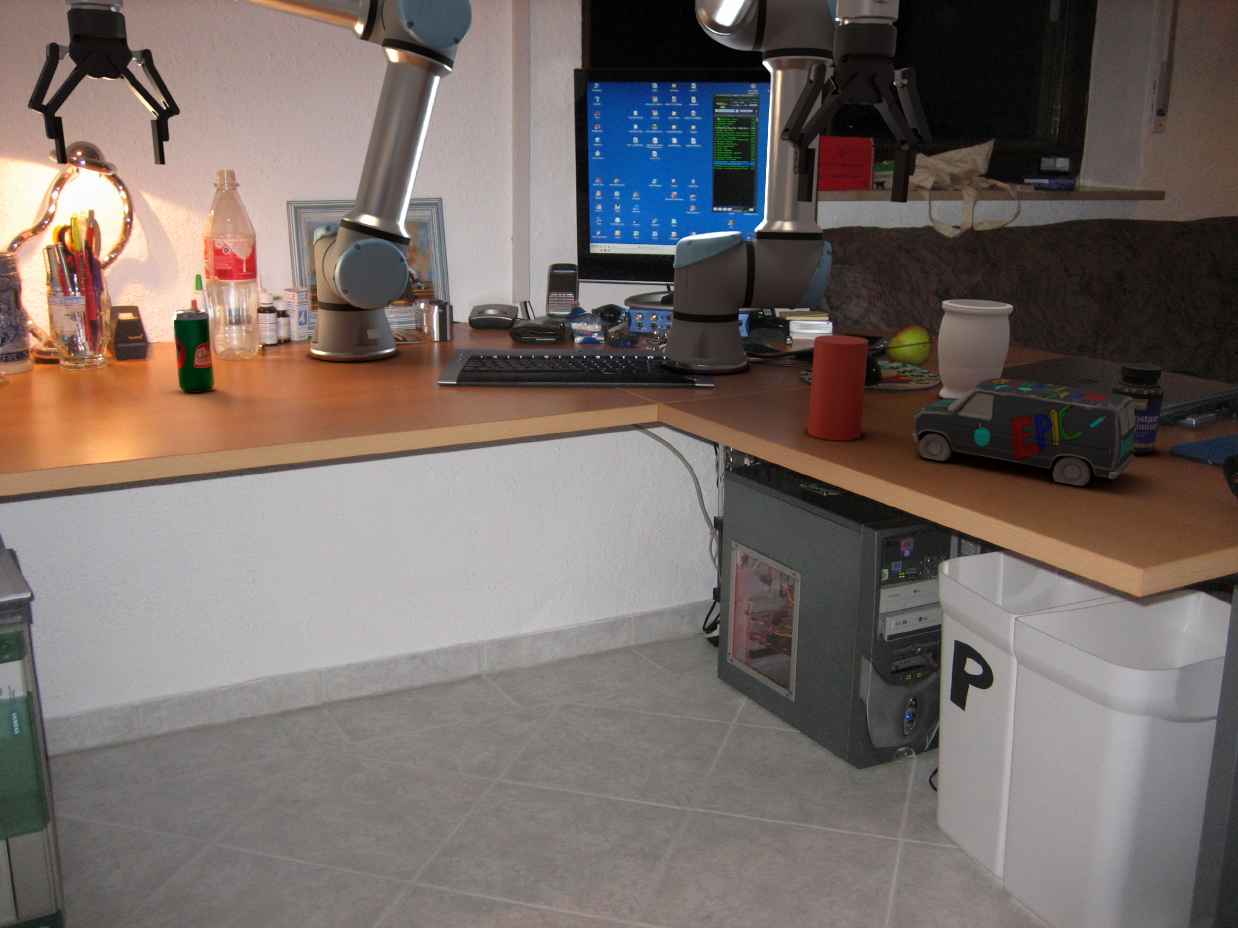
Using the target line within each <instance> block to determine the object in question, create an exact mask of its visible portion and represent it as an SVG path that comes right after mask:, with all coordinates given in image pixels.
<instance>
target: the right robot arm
mask: <svg viewBox="0 0 1238 928" xmlns="http://www.w3.org/2000/svg"><path fill="white" fill-rule="evenodd" d="M899 6H900V0H695V1H694V11H695V17H696V19H697V21H698V24H699V26H700V27H701V28H702V30H703V31H704V32H705V33H706V34H707V35H708V36H709V37H710V38H712V40H714V41H716V42H718V43H720V44H722V45H724V46H726V47H728V48H731V49H735V50H739V51H751V52H762V65H763V66H764V67H765V69H766V70H767V71H768V72H769V73H770V93H769V112H768V136H767V154H766V155H767V157H766V176H765V177H766V178H765V194H764V195H765V197H764V217H763V220H762V222H760V224H759V225H758V226H757V227H756V228H755V229H754V239H753V240H752V239H751V240H748V239H747V240H746V239H745V237H744V234H743V232H741V231H736V230H733V231H718V232H717V231H716V232H706V233H699V234H693V235H689V236H686V237H683V238H681V239H680V240H679V241H678V242H677V244H676V245H675V252H674V263H673V264H672V267H673V269H674V278H673V301H672V321H671V326H670V329H669V332H668V334H667V337H666V338H665V339H664V342H663V343H662V344H663V345H665V346H664V348H663V349H662V350H661V356H662V355H664V356H666V357H668V358H669V359H671V360H674V361H676V362H680V363H686V364H694V365H698V366H703V367H709V368H710V369H690V368H682V367H676V366H671V365H668V364H663V365H664V366H665V367H667V368H669V369H668V370H670V369H671V370H670V371H674V372H680V373H685V374H686V373H687V374H695V375H696V374H697V375H698V374H699V375H702V374H703V375H724V374H733V373H738V372H742V371H744V370H746V369H747V367H748V357H753V358H757V359H761V360H774V359H775V360H776V359H781V358H785V357H786V358H787V357H792V356H793V357H794V356H801V355H802V356H805V355H814V349H803V350H801V349H800V350H792V351H785V352H779V353H772V354H764V353H763V354H762V353H758V352H755V351H748V350H744V342H743V337H742V333H741V328H740V309H778V310H779V309H781V310H782V309H783V310H791V311H794V310H796V309H797V310H799V309H800V310H801V309H811V308H812V309H813V308H815V307H817V306H818V305H819V304H820V302H822V299H823V298H824V296H825V293H826V290H827V287H828V284H829V280H830V276H831V270H832V263H833V257H832V253H833V251H832V250H833V248H832V245H831V243H830V242H829V241H827V240H826V239H825V240H823V233H824V231H823V229H822V228H821V227H820V226H819V225H818V223H817V222H816V220H815V219H816V218H815V217H816V201H817V200H816V199H817V185H818V184H817V183H818V182H817V181H818V163H819V148H820V147H819V145H820V133H821V132H822V131H823V129H824V128H825V127H826V126H827V125H828V124H829V122H830V121H831V119H833V117H834V116H835V115H836V114H837V112H838V111H839V110H840V108H841V107H843V106H844V105H856V104H857V105H858V104H859V105H865V106H867V105H869V106H870V105H873V107H874V108H876V109H877V110H878V112H879V113H880V115H881V117H882V119H883V120H884V121H885V124H886V125H887V127H888V129H889V130H890V131H891V133H892V134H893V136H894V139H896V142H897V143H898V144H899V146H900V147H901V149H895V150H894V160H893V171H892V181H891V183H892V184H891V193H890V202H891V203H901V204H906V203H908V194H909V186H910V185H909V184H910V183H909V182H910V177H911V176H912V177H913V176H914V175H915V173H916V172H915V171H916V162H917V153H918V151H920V150H921V149H922V148H923V147H924V146H929V145H930V144H932V142H933V137H932V134H931V130H930V127H929V125H928V121H927V117H926V115H925V111H924V108H923V105H922V102H921V98H920V95H919V93H918V89H917V85H916V84H917V83H916V82H917V80H916V79H917V78H916V77H917V76H916V69H915V68H914V67H904V68H899V69H895V68H894V65H893V64H894V63H893V61H894V59H895V55H896V48H897V47H896V45H897V34H898V29H897V28H896V26H895V25H893V23H895V22H896V21H898V19H899ZM828 80H830V81H831V83H832V85H833V88H832V90H830V92H829V93H828V95H827V96H826V97H825V98H824V101H823V103H822V95H823V93H822V92H823V88H824V85H825V84H826V83H827V82H828ZM892 83H893V85H895V87H896V89H897V94H898V97H899V100H900V103H901V106H902V109H903V113H904V115H903V113H902V111H901V110H900V108H899V107H898V104H896V98H895V96H894V95H893V93H892V91H891V90H890V86H891V84H892ZM904 116H905V117H904ZM930 340H931V341H932V338H931V337H930ZM875 345H876V344H875ZM876 346H877V345H876ZM868 347H872V346H868ZM667 368H666V369H667Z"/></svg>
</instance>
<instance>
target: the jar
mask: <svg viewBox="0 0 1238 928" xmlns="http://www.w3.org/2000/svg"><path fill="white" fill-rule="evenodd" d="M941 303H942V304H941V308H942V310H944V314H943V316H942V320H941V323H940V327H939V332H938V337H937V358H938V372H939V377H940V381H941V383H942V385H943V387H942V388H941V389H940V391H939V397H940V398H941V399H944V398H960V397H962V396H963V395H965V394H966V393H967V392H968V391H970V390H971V389H972V388H974V387H975V386H976V385H977V384H979V383H980V382H982V381H984V380H988V379H994V378H1002V377H1001V376H1002V373H1003V370H1004V365H1005V363H1006V359H1007V356H1008V352H1009V348H1010V347H1009V346H1010V338H1011V337H1010V335H1011V331H1010V330H1011V327H1010V320H1009V316H1010V315H1011V314H1012V313H1013V312H1014V306H1013V304H1009V303H1005V302H1001V301H995V300H994V301H993V300H986V299H985V300H984V299H967V298H965V299H964V298H963V299H948V300H942V302H941Z"/></svg>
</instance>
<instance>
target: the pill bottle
mask: <svg viewBox="0 0 1238 928" xmlns="http://www.w3.org/2000/svg"><path fill="white" fill-rule="evenodd" d="M1162 371H1163V367H1161V366H1158V365H1155V364H1149V363H1142V362H1141V363H1140V362H1126V363H1122V365H1121V369H1120V375H1121V380H1119V381H1116V382H1115V383H1114V384H1113V385H1112V388H1111V393H1112V394H1118V395H1125V396H1130V397H1131V398H1133V405H1134V415H1135V423H1136V431H1135V436H1134V441H1133V450H1132V451H1131V454H1140V455H1141V454H1148V453H1151V452H1153V451H1154V450H1155V448H1156V440H1157V435H1158V428H1159V424H1160V419H1161V418H1160V417H1161V412H1162V407H1163V399H1164V395H1165V391H1164V389H1163V387H1162V386H1161V385H1159V383H1158V381H1159V380H1160V379H1161V377H1162Z"/></svg>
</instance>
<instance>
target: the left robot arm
mask: <svg viewBox="0 0 1238 928" xmlns="http://www.w3.org/2000/svg"><path fill="white" fill-rule="evenodd" d="M232 1H234V2H237V3H241V4H245V5H249V6H253V7H257V8H261V9H265V10H269V11H272V12H276V13H280V14H284V15H287V16H292V17H296V18H301V19H304V20H308V21H311V22H316V23H319V24H324V25H328V26H331V27H336V28H339V29H343V30H346V31H350V32H351V33H352V35H353V36H354V37H355V39H357V40H360V41H365V42H368V43H372V44H374V45H379V46H381V47H380V52H381V53H382V55H383V57H384V59H385V61H386V63H387V66H386V69H385V73H384V77H383V81H382V85H381V89H380V95H379V99H378V102H377V107H376V112H375V115H374V120H373V125H372V129H371V133H370V137H369V141H368V145H367V150H366V154H365V159H364V163H363V166H362V170H361V175H360V179H359V184H358V187H357V192H356V196H355V201H354V205H353V208H352V210H351V211H349V212H347V213H346V214H344V215H342V216H341V219H340V222H339V224H331V225H330V224H329V225H322V226H318V227H316V229H315V230H314V232H313V243H312V246H313V248H314V264H315V265H314V266H315V279H316V297H317V310H318V311H317V316H316V321H315V323H314V327H313V331H312V335H311V338H310V342H309V355H310V356H311V357H312V358H314V359H317V360H323V361H331V362H366V361H376V360H382V359H387V358H390V357H394V356H395V355H396V354H397V344H396V339H395V337H394V333H393V331H392V329H391V325H390V323H389V320H388V317H387V314H386V311H385V308H386V307H388V306H390V305H392V304H394V303H395V302H396V301H397V300H398V299H399V298H400V297H401V296H402V295H403V293H404V292H405V290H406V288H407V285H408V282H409V273H410V272H409V265H408V261H407V255H408V252H409V247H410V244H411V239H412V235H411V234H410V232H409V230H408V228H407V226H406V222H407V217H408V214H409V213H408V212H409V209H410V204H411V200H412V195H413V192H414V188H415V184H416V180H417V174H418V171H419V167H420V163H421V159H422V156H423V151H424V147H425V143H426V139H427V135H428V131H429V126H430V122H431V118H432V113H433V110H434V107H435V102H436V98H437V93H438V89H439V86H440V82H441V80H442V79H444V78H446V77H447V76H449V75H451V74H452V72H453V68H454V64H455V60H456V58H457V57H456V56H457V52H458V49H459V46H460V45H461V44H462V43H463V42H464V41H465V39H466V38H467V36H468V34H469V32H470V30H471V26H472V22H473V11H472V5H471V2H470V0H232ZM65 5H67V7H70V9H68V10H67V12H66V18H67V26H68V36H69V44H68V45H63V44H58V43H57V42H56V41H54V42H49V43H47V44H46V45H45V61H44V64H43V66H42V69H41V70H40V73H39V76H38V78H37V81H36V83H35V86H34V88H33V91H32V93H31V95H30V98H29V100H28V103H27V108H28V109H29V110H30V111H33V112H36V113H39V114H41V115H42V117H43V121H44V129H45V136H46V138H47V140H54V147H55V155H56V164H57V165H59V164H60V165H68V158H67V157H68V156H67V149H66V141H65V134H64V133H65V132H64V125H63V117H62V116H60V115H59V116H56V113H57V112H58V111H59V110H60V108H61V107H62V106H63V104H64V103H65V102H66V101H67V100H68V99H69V97H70V95H71V94H72V93H73V92H74V91H75V89H76V88H77V86H78V85H79V84H80V83H81V82H82V80H84V79H85V77H87V78H89V80H90V79H91V80H98V79H104V80H110V81H114V80H117V79H119V80H120V81H121V82H123V84H125V85H126V86H127V88H128V89H129V90H130V91H131V92H132V94H134V95H135V96H136V98H138V100H139V101H140V102H141V103H142V104H143V105H144V106H145V108H147V109H148V110H149V112H151V114H152V115H153V116H154V117H155V118H156V119H150V129H151V137H152V138H151V139H152V148H153V157H154V165H158V166H159V165H161V166H165V165H166V157H165V146H164V142H166V143H168V142H169V141H170V129H169V120H170V119H171V118H172V117H176V116H178V115H180V114H181V109H180V108H179V106H178V104H177V103H176V100H175V99H174V97H173V95H172V93H171V92H170V90H169V89H168V87H167V84H166V83H165V81H164V80H163V78H162V76H161V74H160V73H159V71H158V68H157V67H156V65H155V62H154V57H153V53H152V50H151V49H149V48H144V49H143V48H142V49H140V50H131V49H130V47H129V43H128V35H127V34H128V33H127V23H126V16H125V15H124V14H123V13H122V12H121V11H122V10H124V0H65ZM67 55H68V57H69V58H70V59H71V60H72V62H73V63H74V64H75V67H73V69H72V70H71V72H70V73H69V75H68V76H67V77H66V79H64V81H63V83H61V85H60V86H59V88H58V89H57V90H56V91H55V93H54V94H53V96H51V98H50V99H49V101H48V102H47V103H46V104H44V101H45V98H46V95H47V93H48V91H49V88H50V86H51V83H52V82H53V78H54V76H55V73H56V71H57V69H58V66H59V63H60V61H63V60H64V59H65V57H66V56H67ZM132 60H134V61H135V63H136V64H137V65H138V66H141V68H142V71H143V73H144V74H145V77H146V78H147V80H148V82H149V83H150V85H151V87H152V89H153V90H154V92H155V93H156V95H157V97H158V99H159V100H160V102H161V104H162V105H161V104H160V103H159V102H158V101H157V99H155V98H154V96H153V95H152V94H151V93H150V91H148V90H147V88H146V87H144V85H143V84H142V83H141V81H139V80H138V78H137V77H136V76H135V74H134V73H133V72H132V71H131V70H130V68H128V66H129V65H130V63H131V62H132ZM163 107H164V108H163Z"/></svg>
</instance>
